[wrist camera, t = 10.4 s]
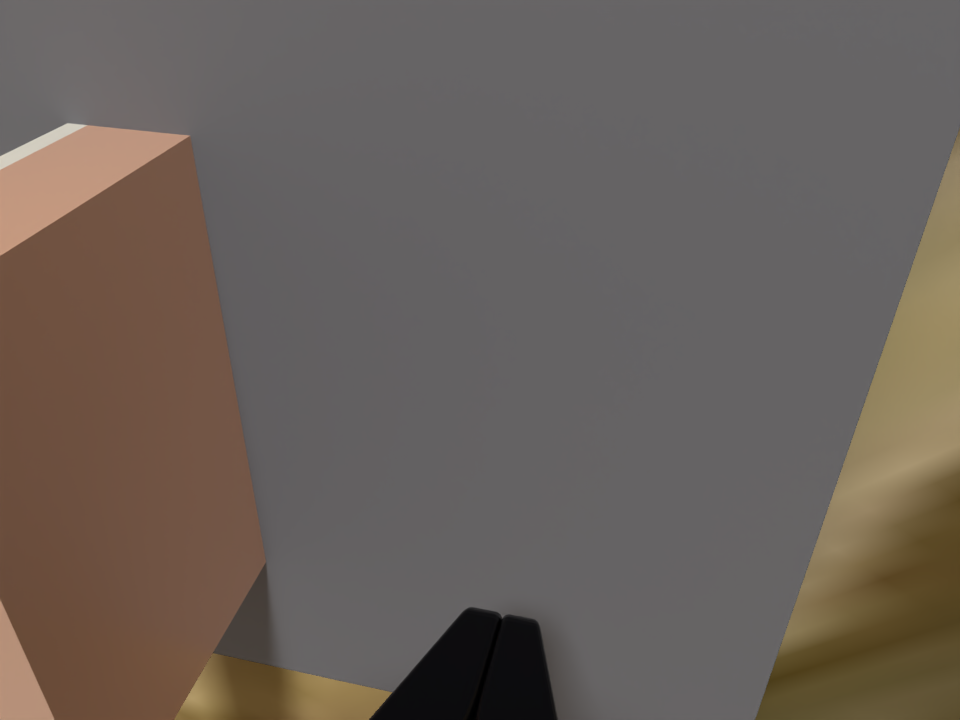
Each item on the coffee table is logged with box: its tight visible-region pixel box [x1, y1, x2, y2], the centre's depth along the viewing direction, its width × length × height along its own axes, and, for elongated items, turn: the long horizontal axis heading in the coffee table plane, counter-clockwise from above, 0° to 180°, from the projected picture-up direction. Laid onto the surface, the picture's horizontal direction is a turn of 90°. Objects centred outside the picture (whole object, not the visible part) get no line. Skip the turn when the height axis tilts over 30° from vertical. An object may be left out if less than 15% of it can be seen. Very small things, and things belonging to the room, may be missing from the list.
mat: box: [0, 0, 960, 720], centre depth 13 cm, size 18×16×1 cm
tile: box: [0, 123, 266, 720], centre depth 11 cm, size 2×8×5 cm, turn 178°
